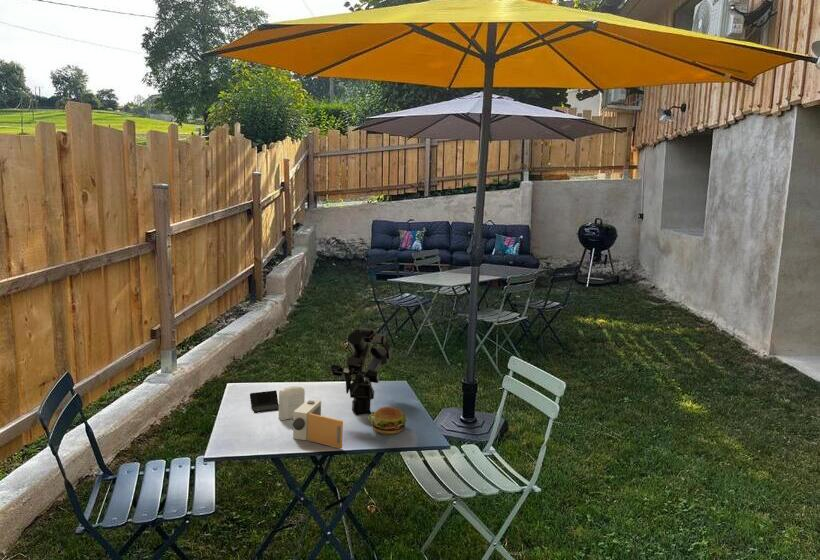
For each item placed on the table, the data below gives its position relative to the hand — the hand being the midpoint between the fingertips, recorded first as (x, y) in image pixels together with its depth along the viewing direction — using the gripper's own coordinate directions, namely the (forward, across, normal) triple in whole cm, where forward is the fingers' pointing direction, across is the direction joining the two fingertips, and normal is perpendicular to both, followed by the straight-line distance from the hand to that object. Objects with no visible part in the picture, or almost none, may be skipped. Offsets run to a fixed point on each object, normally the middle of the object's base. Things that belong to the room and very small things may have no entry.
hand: (348, 393), depth 234 cm
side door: (+22, -2, -6) cm, 23 cm away
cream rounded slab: (+10, -22, +11) cm, 27 cm away
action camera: (+17, -12, +1) cm, 21 cm away
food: (+8, +16, +9) cm, 20 cm away
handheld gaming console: (+6, -36, +16) cm, 40 cm away
